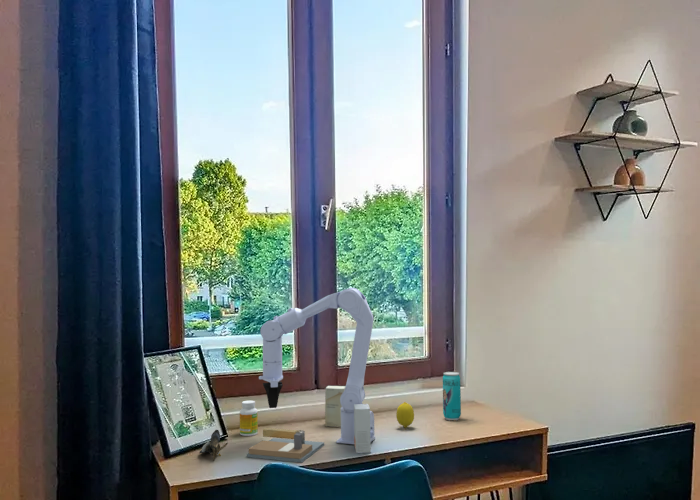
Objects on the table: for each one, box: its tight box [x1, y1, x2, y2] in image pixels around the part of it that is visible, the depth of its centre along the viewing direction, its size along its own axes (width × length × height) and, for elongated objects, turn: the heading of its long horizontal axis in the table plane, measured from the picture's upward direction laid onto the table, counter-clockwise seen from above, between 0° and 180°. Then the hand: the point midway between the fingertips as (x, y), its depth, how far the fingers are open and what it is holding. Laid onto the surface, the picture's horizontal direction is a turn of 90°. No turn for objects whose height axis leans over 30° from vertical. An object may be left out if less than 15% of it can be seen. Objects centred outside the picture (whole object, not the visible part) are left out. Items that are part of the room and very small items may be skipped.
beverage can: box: [442, 371, 462, 421], centre depth 202 cm, size 6×6×15 cm
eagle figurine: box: [198, 429, 228, 462], centre depth 165 cm, size 8×7×9 cm
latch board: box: [246, 433, 325, 463], centre depth 169 cm, size 16×16×6 cm
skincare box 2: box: [353, 403, 372, 454], centre depth 169 cm, size 6×4×12 cm
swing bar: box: [262, 427, 306, 444], centre depth 173 cm, size 12×3×4 cm, turn 71°
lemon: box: [396, 401, 415, 429], centre depth 191 cm, size 6×6×8 cm
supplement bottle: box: [239, 400, 259, 437], centre depth 187 cm, size 5×5×10 cm
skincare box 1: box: [324, 385, 346, 428], centre depth 196 cm, size 6×4×12 cm
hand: (272, 407), depth 181 cm, fingers closed
